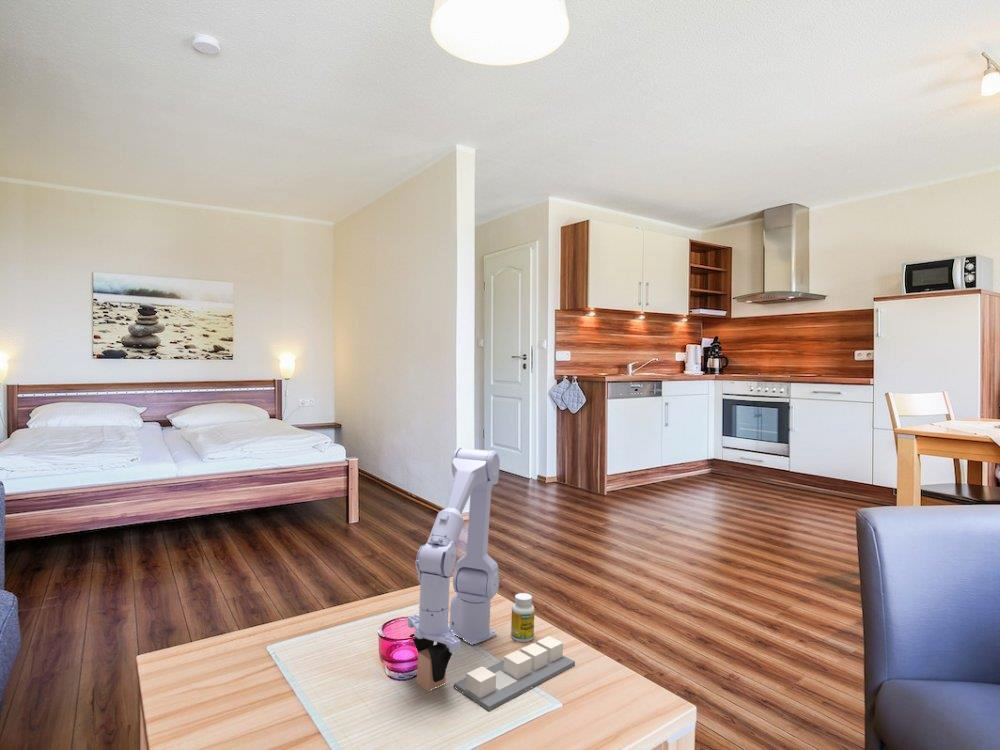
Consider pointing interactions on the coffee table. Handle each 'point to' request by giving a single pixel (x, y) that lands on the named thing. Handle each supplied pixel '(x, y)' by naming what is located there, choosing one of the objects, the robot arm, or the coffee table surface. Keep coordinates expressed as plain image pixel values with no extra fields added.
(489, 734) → the coffee table surface
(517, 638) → the supplement bottle
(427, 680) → the terracotta block
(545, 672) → the block set board
